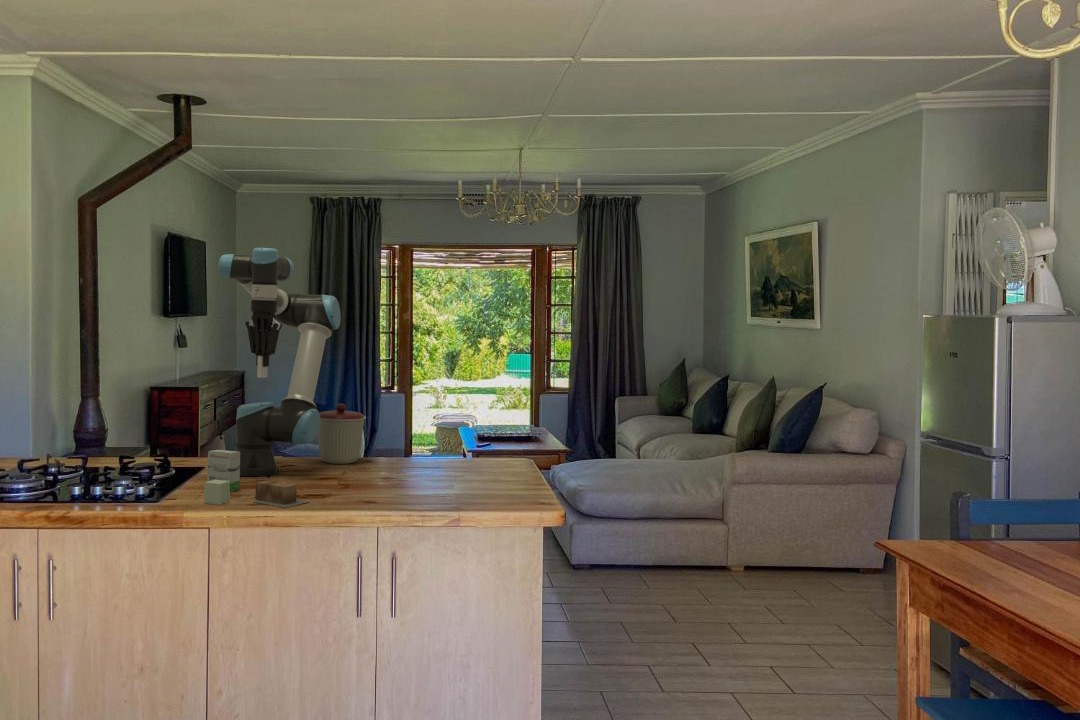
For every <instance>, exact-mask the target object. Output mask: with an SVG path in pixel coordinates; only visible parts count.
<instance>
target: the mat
mask: <svg viewBox="0 0 1080 720" xmlns="http://www.w3.org/2000/svg"><path fill="white" fill-rule="evenodd" d="M304 502H305V503H306V502H307V500H300V499H296V502H294V503H289V504H285V505H284V504H278V503H272V502H266V501H261V500H254V501H252V503H254V504H258V503H261V504H260V505H263V504H267V505H266V506H269V505H272V506H271V507H275V506H277V507H276V508H280V507H283V508H282V509H287V508H286V507H288V508H290V507H289V506H293V507H295V506H294V505H297V504H300V503H301V505H303V504H302V503H304ZM306 504H307V503H306ZM297 506H298V505H297Z"/></svg>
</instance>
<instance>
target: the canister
mask: <svg viewBox="0 0 1080 720" xmlns="http://www.w3.org/2000/svg"><path fill="white" fill-rule="evenodd" d="M346 408H347V406H346V404H344V403H337V404H336V405H335V410H326V411H321V412H319V413H320V426H319V430H318V433H317V443H318V444H317V445H318V450H319V451H318V452H319V457H320V459H321V461H323V462H324V463H327V464H333V465H344V464H345V465H346V464H348V465H349V464H352V463H355V462H357V460H358V459H359V456H360V451H361V445H362V438H363V433H364V424H365V420H366V419H367V417H366V415H364V414H363V413H362V412H358V411H354V410H353V411H352V410H346Z"/></svg>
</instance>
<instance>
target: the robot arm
mask: <svg viewBox="0 0 1080 720" xmlns="http://www.w3.org/2000/svg"><path fill="white" fill-rule="evenodd" d="M217 268H218V273H219V275H220V277H222V278H223V279H229V280H231V279H234V280H235V281H236V282H237V283H238V285H240V286H241V287H242V288H243V289H244V290H246V292H247V293H248V294H250V296H251V298H252V300H251V301H250V311H251V313H252V315H251V319H250V320H248V321H245V327H246V328H247V336H248V340H249V346H250V353H251V354H254V355H255V356H256V357H255V362H256V363H255V364H256V367H257V371H256V378H260V379H261V378H262V379H263V378H268V367H269V366H270V356H272V355H275V353H276V349H277V345H278V340H279V334H280V331H281V329H282V328H283V325H285V326H287V327H293V328H297V330H298V332H299V333H300V335H299V336H300V337H299V342H298V345H297V349H296V350H297V351H296V356H295V359H294V365H293V369H292V373H291V378H290V383H289V387H288V393H287V396H286V397H285V398H282V400H281V401H280V406H279V407H278V406H277V407H276V406H275V405H274V402H273V401H265V402H254V403H252V402H251V403H247V404H246V403H245V404H241V405H239V406H238V407H237V409H236V418H235V421H236V422H235V427H236V429H235V450H234V451H237V452H240V477H241V476H242V477H260V476H270V475H271V476H272V475H275V474H277V472H278V465H277V463H276V459H275V455H274V451H273V443H277V444H278V443H280V444H291V445H292V444H294V445H301V444H302V445H308V444H310V443H312V442H313V441H314V440H315V439H316V437H317V436H318V430H319V426H320V412H319V410H318V409H317V405H316V403H315V402H314V399H315V394H316V389H317V383H318V379H319V376H320V371H321V365H322V361H323V355H324V351H325V346H326V342H327V339H329V338H331V336H332V334H333V333H332V332H333V330H338V329H339V328H340V326H341V321H342V320H341V319H342V318H341V309H340V304H339V301H338V299H337V298H336V297H335V296H334V295H331V294H330V295H327V294H307V293H289V292H285V290H282V289H281V288H278V281H279V282H284V281H287V280H289V279H290V278H291V277H293V275H294V272H295V265H294V263H293V261H292V260H291V259H290V258H288V257H286V256H283V255H279V250H278V249H277V248H270V247H269V248H268V247H255V248H253V249H252V254H239V253H238V254H234V253H228V254H226V253H225V254H222V255H221V256H220V258H219V260H218V265H217Z"/></svg>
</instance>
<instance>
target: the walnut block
mask: <svg viewBox="0 0 1080 720" xmlns="http://www.w3.org/2000/svg"><path fill="white" fill-rule="evenodd" d="M297 486H298V485H297V484H294V483H288V482H283V481H276V480H270V479H267V480H263V481H256V482H255V495H254V496H255V500H254V501H258V500H261V501H266V502H272V503H278V504H284V505H285V504H289V503H294V502H296V500H297V493H298V492H297V491H298V490H297V489H298V487H297Z"/></svg>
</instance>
